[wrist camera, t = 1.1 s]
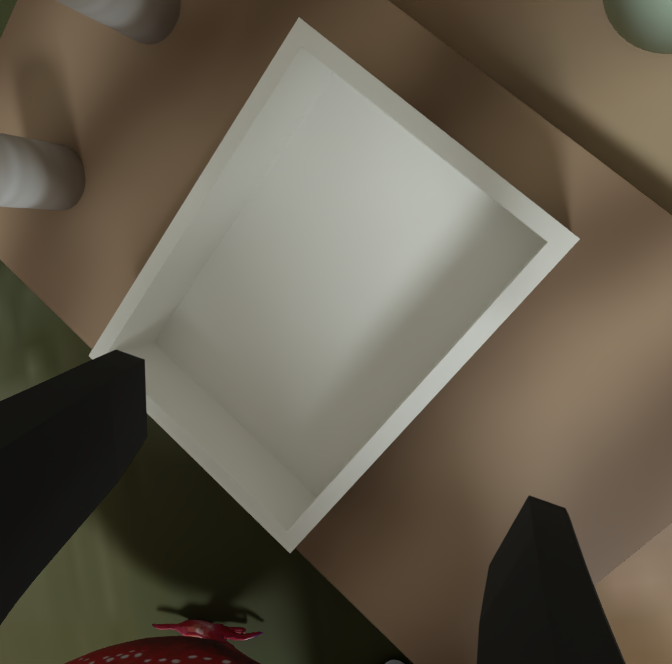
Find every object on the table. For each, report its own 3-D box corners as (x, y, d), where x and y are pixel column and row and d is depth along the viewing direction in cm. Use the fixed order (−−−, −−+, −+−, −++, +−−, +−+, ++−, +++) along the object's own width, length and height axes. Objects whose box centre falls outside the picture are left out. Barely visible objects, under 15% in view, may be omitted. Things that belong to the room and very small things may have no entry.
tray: (572, 238, 16) (580, 239, 13) (324, 509, 20) (289, 553, 17) (336, 52, 18) (298, 17, 15) (146, 340, 21) (88, 355, 19)
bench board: (844, 355, 16) (966, 401, 11) (455, 675, 21) (434, 793, 16) (134, -186, 20) (19, -307, 15) (-41, 194, 25) (-164, 185, 20)
